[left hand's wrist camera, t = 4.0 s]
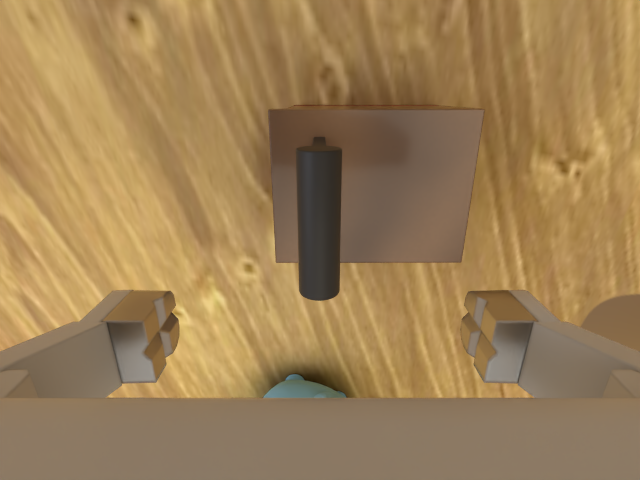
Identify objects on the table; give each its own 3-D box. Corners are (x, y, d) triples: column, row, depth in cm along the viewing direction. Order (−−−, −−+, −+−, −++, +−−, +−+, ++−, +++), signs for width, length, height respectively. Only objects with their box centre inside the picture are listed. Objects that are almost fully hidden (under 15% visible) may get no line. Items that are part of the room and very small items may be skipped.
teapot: (268, 448, 46) (256, 555, 35) (230, 362, 40) (202, 461, 30) (367, 430, 45) (384, 534, 34) (343, 339, 39) (355, 433, 29)
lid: (277, 256, 26) (259, 325, 18) (270, 108, 22) (243, 115, 15) (456, 256, 26) (514, 325, 18) (477, 108, 22) (562, 115, 15)
